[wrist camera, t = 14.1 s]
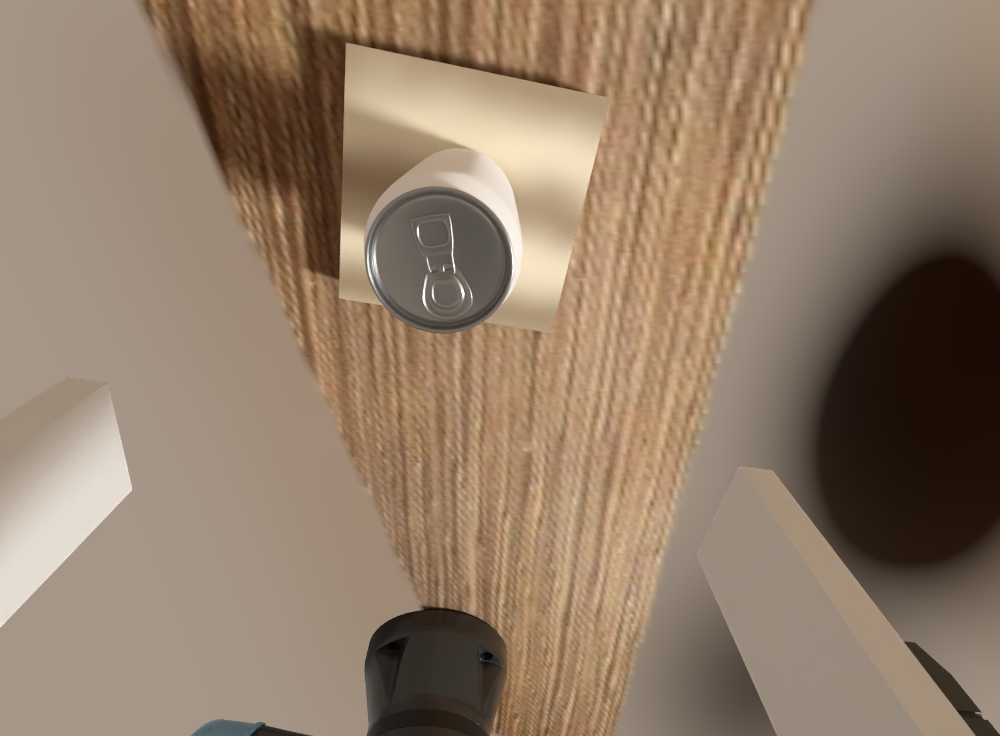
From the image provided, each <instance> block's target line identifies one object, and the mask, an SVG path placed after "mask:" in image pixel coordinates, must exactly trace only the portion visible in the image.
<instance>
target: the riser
mask: <svg viewBox="0 0 1000 736" xmlns="http://www.w3.org/2000/svg"><path fill="white" fill-rule="evenodd" d="M609 100H610V98H608V97H604V96H599V95H594V94H589V93H584V92H580V91H575V90H570V89H565V88H560V87H556V86H551V85H546V84H541V83H537V82H532V81H527V80H522V79H517V78H513V77H508V76H503V75H498V74H494V73H489V72H484V71H479V70H474V69H470V68H465V67H460V66H455V65H450V64H446V63H441V62H436V61H431V60H427V59H422V58H417V57H412V56H407V55H403V54H398V53H393V52H388V51H384V50H379V49H374V48H369V47H364V46H360V45H355V44H350V43H346V59H345V95H344V132H343V168H342V205H341V242H340V278H339V298H341V299H348V300H354V301H360V302H366V303H372V304H378V305H383V304H382V303H381V302H380V301H379V299H378V298H377V296H376V295H375V293H374V291H373V289H372V287H371V285H370V282H369V280H368V276H367V272H366V267H365V255H364V235H365V229H366V224H367V221H368V218H369V216H370V213H371V211H372V209H373V207H374V206H375V204H376V202H377V201H378V199H379V198H380V197H381V195H382V194H383V193H384V192H385V191H386V190H387V189H388V188H389V187H390V186H391V185H392V184H393V183H394V182H396V181H397V180H398V179H399V178H401V177H402V176H403V175H404V174H406V173H407V172H408V171H410V170H411V169H412V168H413V167H415V166H416V165H417V164H419V163H420V162H422V161H423V160H424V159H426V158H427V157H429V156H431V155H433V154H435V153H437V152H439V151H442V150H446V149H453V148H462V149H469V150H473V151H476V152H478V153H481V154H483V155H485V156H486V157H488V158H489V159H491V160H492V161H493V162H494V163H496V164H497V165H498V166H499V167H500V169H501V170H502V171H503V172H504V174H505V175H506V177H507V179H508V181H509V183H510V185H511V188H512V190H513V194H514V198H515V202H516V207H517V212H518V217H519V222H520V228H521V234H522V243H523V258H522V265H521V270H520V274H519V277H518V280H517V282H516V285H515V287H514V289H513V290H512V292H511V294H510V295H509V297H508V298H507V299H506V300H505V302H504V303H503V304H502V305H501V306H500V307H499V308H498V309H497V310H496V312H495V313H494V314H493V315H491V316H490V317H489V318H488V319H487V320H485V321H484V322H487V323H493V324H499V325H505V326H511V327H517V328H523V329H529V330H535V331H541V332H547V333H551V332H552V328H553V324H554V320H555V316H556V312H557V308H558V304H559V300H560V296H561V292H562V288H563V284H564V280H565V276H566V272H567V268H568V264H569V260H570V256H571V252H572V248H573V244H574V240H575V236H576V232H577V228H578V224H579V220H580V216H581V212H582V208H583V204H584V200H585V196H586V192H587V188H588V184H589V180H590V176H591V172H592V168H593V164H594V160H595V156H596V152H597V148H598V144H599V140H600V136H601V132H602V128H603V124H604V120H605V116H606V112H607V108H608V104H609Z"/></svg>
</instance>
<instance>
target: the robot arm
mask: <svg viewBox="0 0 1000 736" xmlns="http://www.w3.org/2000/svg"><path fill="white" fill-rule="evenodd" d="M130 491H132V486H131V481H130V477H129V473H128V468H127V464H126V460H125V455H124V452H123V447H122V443H121V438H120V434H119V430H118V425H117V422H116V417H115V413H114V408H113V404H112V400H111V395H110V391H109V386H108V383H105V382H98V381H90V380H83V379H76V378H68V377H66V378H65V379H63V380H61V381H60V382H58V383H57V384H55V385H53V386H52V387H50V388H48V389H47V390H45V391H44V392H42V393H40V394H39V395H37V396H36V397H34V398H32V399H31V400H29V401H28V402H26V403H24V404H23V405H21V406H20V407H18V408H16V409H15V410H13V411H12V412H10V413H8V414H7V415H5V416H4V417H2V418H0V627H1V626H2V625H3V624H4V623H5V622H6V621H7V620H8V619H9V618H10V617H11V616H12V615H13V614H14V613H15V611H17V609H19V607H20V606H21V605H22V604H23V603H24V602H25V601H26V600H27V599H28V598H29V597H30V596H31V595H32V594H33V593H34V592H35V591H36V590H37V589H38V588H39V587H40V585H41V584H42V583H43V582H44V581H45V580H46V579H47V578H48V577H49V576H50V575H51V574H52V573H53V572H54V571H55V570H56V569H57V568H58V567H59V566H60V565H61V563H62V562H63V561H64V560H65V559H66V558H67V557H68V556H69V555H70V554H71V553H72V552H73V551H74V550H75V549H76V548H77V547H78V546H79V545H80V544H81V543H82V542H83V541H84V540H85V539H86V537H87V536H88V535H89V534H90V533H91V532H92V531H93V530H94V529H95V528H96V527H97V526H98V525H99V524H100V523H101V522H102V521H103V520H104V519H105V518H106V516H108V515H109V513H110V512H111V511H112V510H113V509H114V508H115V507H116V506H117V505H118V504H119V503H120V502H121V501H122V500H123V499H124V498H125V497H126V496H127V495H128V494H129V493H130ZM696 556H697V558H698V560H699V563H700V565H701V567H702V569H703V571H704V574H705V576H706V578H707V580H708V583H709V585H710V587H711V589H712V592H713V594H714V596H715V598H716V600H717V603H718V605H719V607H720V609H721V612H722V614H723V616H724V618H725V620H726V623H727V625H728V627H729V629H730V632H731V634H732V636H733V638H734V640H735V642H736V645H737V647H738V649H739V651H740V654H741V656H742V658H743V660H744V663H745V665H746V667H747V669H748V671H749V674H750V676H751V678H752V681H753V683H754V685H755V687H756V689H757V692H758V694H759V696H760V698H761V701H762V703H763V705H764V707H765V710H766V712H767V714H768V716H769V718H770V721H771V723H772V725H773V727H774V730H775V732H776V734H777V736H1000V735H999V734H998V732H997V731H996V730H995V729H994V727H993V726H992V725H991V724H990V722H989V721H988V720H984V719H983V718H982V716H981V711H980V710H979V709H978V707H977V706H976V705H975V704H974V703H973V701H972V700H971V699H970V697H969V696H968V695H967V694H966V693H965V691H964V690H963V689H962V688H961V686H960V685H959V684H958V683H957V681H956V680H955V679H954V678H953V676H952V675H951V674H950V673H949V672H947V671H946V670H945V669H944V668H943V667H942V666H940V664H938V663H937V662H936V661H935V660H934V659H933V658H932V657H930V656H929V655H928V654H927V653H926V652H925V651H924V650H923V649H921V648H920V647H919V646H918V645H917V644H916V643H913V642H904V641H903V640H902V639H901V638H900V636H899V635H898V634H897V632H896V631H895V630H894V629H893V627H892V626H891V625H890V623H889V622H888V621H887V619H886V618H885V617H884V615H883V614H882V613H881V612H880V610H879V609H878V608H877V606H876V605H875V604H874V602H873V601H872V600H871V598H870V597H869V596H868V595H867V593H866V592H865V591H864V589H862V587H861V586H860V584H859V583H858V582H857V580H856V579H855V578H854V576H853V575H852V574H851V573H850V571H849V570H848V569H847V567H846V566H845V565H844V563H843V562H842V561H841V559H840V558H839V557H838V555H837V554H836V553H835V551H834V550H833V549H832V548H831V546H830V545H829V544H828V542H827V541H826V540H825V538H824V537H823V536H822V535H821V533H820V532H819V531H818V530H817V528H816V527H815V525H814V524H813V523H812V522H811V520H810V519H809V518H808V516H807V515H806V514H805V512H804V511H803V510H802V508H801V507H800V506H799V505H798V503H797V502H796V501H795V499H794V498H793V497H792V495H791V494H790V493H789V491H788V490H787V489H786V488H785V487H784V485H783V484H782V482H781V481H780V480H779V478H778V477H777V476H776V475H775V473H774V472H773V471H772V470H766V469H759V468H751V467H744V466H739V468H738V470H737V472H736V474H735V476H734V478H733V480H732V482H731V484H730V486H729V488H728V490H727V493H726V494H725V496H724V498H723V500H722V502H721V505H720V506H719V508H718V511H717V513H716V515H715V517H714V519H713V521H712V523H711V525H710V527H709V529H708V531H707V533H706V535H705V537H704V539H703V541H702V543H701V545H700V547H699V549H698V551H697V554H696ZM506 676H507V650H506V646H505V643H504V641H503V639H502V638H501V636H500V635H499V634H498V633H497V632H496V631H495V630H494V629H493V628H492V627H490V626H489V625H488V624H486V623H484V622H483V621H481V620H479V619H477V618H474V617H472V616H469V615H466V614H463V613H458V612H453V611H446V610H422V611H415V612H410V613H406V614H403V615H400V616H397V617H395V618H393V619H391V620H389V621H387V622H386V623H384V624H383V625H382V626H380V627H379V628H378V629H377V631H376V632H375V633H374V634H373V636H372V638H371V640H370V643H369V648H368V652H367V657H366V660H365V683H366V695H367V708H368V722H369V727H368V733H367V736H490V732H491V728H492V725H493V722H494V718H495V715H496V712H497V708H498V705H499V702H500V698H501V695H502V691H503V688H504V685H505V681H506ZM191 736H311V735H306V734H301V733H296V732H291V731H286V730H282V729H277V728H274V727H269V726H266V724H265V723H263V722H258V723H256V724H253V723H246V722H238V721H231V720H224V719H219V720H214V721H211V722H208V723H206V724H205V725H203V726H201V727H200V728H199V729H198V730H196V731H195V732H194V733H193V734H192V735H191Z"/></svg>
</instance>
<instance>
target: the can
mask: <svg viewBox="0 0 1000 736" xmlns="http://www.w3.org/2000/svg"><path fill="white" fill-rule="evenodd" d="M364 255H365V267H366V272H367V276H368V280H369V282H370V285H371V287H372V289H373V291H374V293H375V295H376V296H377V298H378V299H379V301H380V302H381V303H382V304H383V306H384V307H385V308H386V309H387V310H388V311H389V312H390V313H391V314H392V315H394V316H395V317H396V318H398V319H399V320H401V321H402V322H404V323H406V324H407V325H409V326H412V327H414V328H416V329H419V330H423V331H427V332H432V333H455V332H460V331H464V330H467V329H470V328H473V327H475V326H477V325H479V324H480V323H482V322H484V321H485V320H487V319H488V318H489V317H490V316H491V315H493V314H494V313H495V312H496V310H497V309H498V308H499V307H500V306H501V305H502V304H503V303H504V302H505V300H506V299H507V298H508V297H509V295H510V294H511V292H512V290H513V289H514V287H515V285H516V282H517V280H518V277H519V274H520V270H521V265H522V258H523V243H522V234H521V228H520V222H519V217H518V212H517V207H516V202H515V198H514V194H513V190H512V188H511V185H510V183H509V181H508V179H507V177H506V175H505V174H504V172H503V171H502V170H501V169H500V167H499V166H498V165H497V164H496V163H494V162H493V161H492V160H491V159H489V158H488V157H486V156H485V155H483V154H481V153H478V152H476V151H473V150H469V149H462V148H453V149H446V150H442V151H439V152H437V153H435V154H433V155H431V156H429V157H427V158H426V159H424V160H423V161H422V162H420V163H419V164H417V165H416V166H415V167H413V168H412V169H411V170H410V171H408V172H407V173H406V174H404V175H403V176H402V177H401V178H399V179H398V180H397V181H396V182H394V183H393V184H392V185H391V186H390V187H389V188H388V189H387V190H386V191H385V192H384V193H383V194H382V195H381V197H380V198H379V199H378V201H377V202H376V204H375V206H374V207H373V209H372V211H371V213H370V216H369V218H368V221H367V224H366V229H365V235H364Z"/></svg>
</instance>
